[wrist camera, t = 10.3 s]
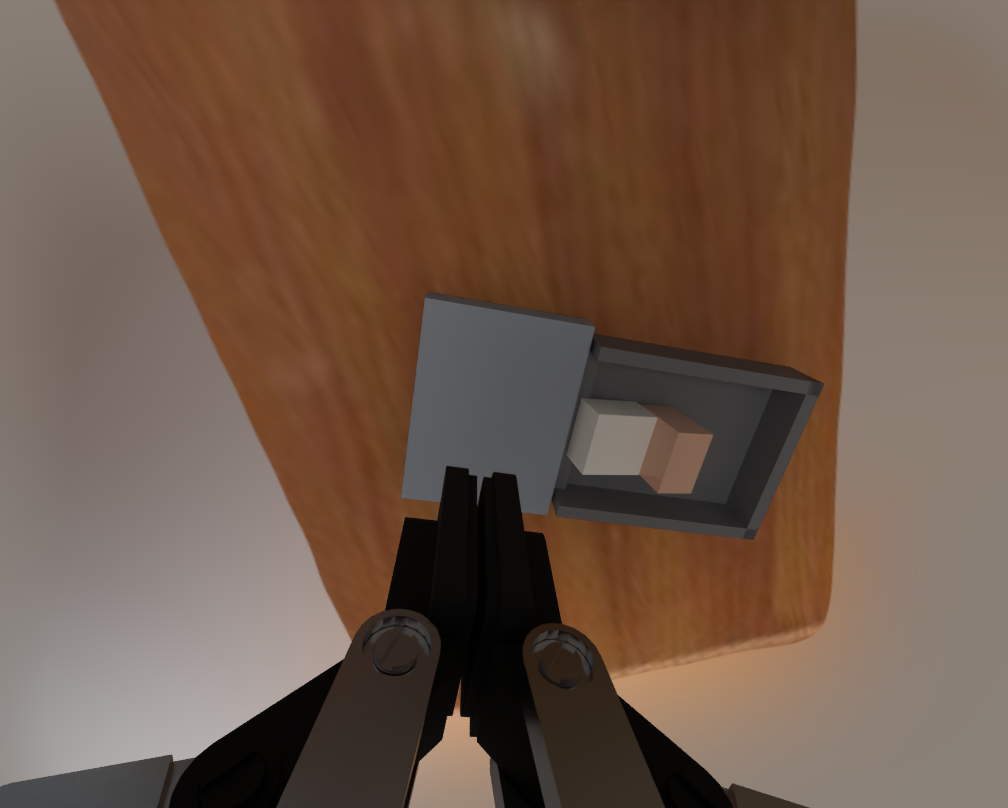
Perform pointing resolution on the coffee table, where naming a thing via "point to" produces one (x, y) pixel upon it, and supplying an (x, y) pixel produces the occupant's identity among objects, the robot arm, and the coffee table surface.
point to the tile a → (610, 437)
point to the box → (713, 405)
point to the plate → (493, 396)
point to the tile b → (674, 451)
